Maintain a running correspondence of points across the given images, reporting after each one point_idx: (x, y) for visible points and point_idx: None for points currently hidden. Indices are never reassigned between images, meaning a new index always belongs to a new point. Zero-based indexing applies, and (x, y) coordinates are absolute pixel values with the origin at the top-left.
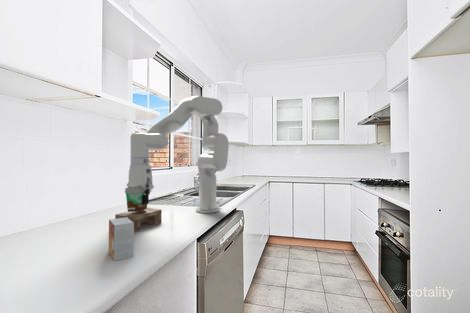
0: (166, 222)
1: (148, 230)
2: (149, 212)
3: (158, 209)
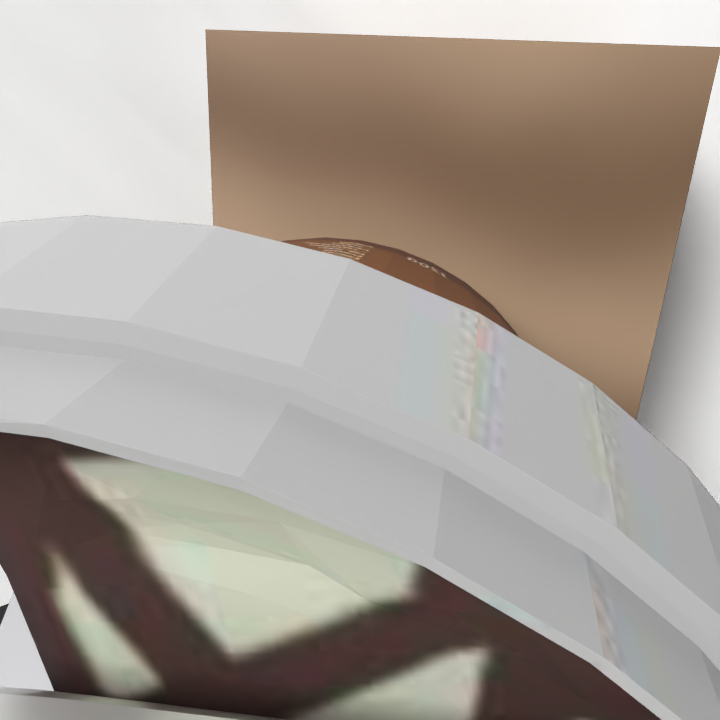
0: (693, 13)
1: (660, 427)
2: (622, 369)
3: (645, 77)
